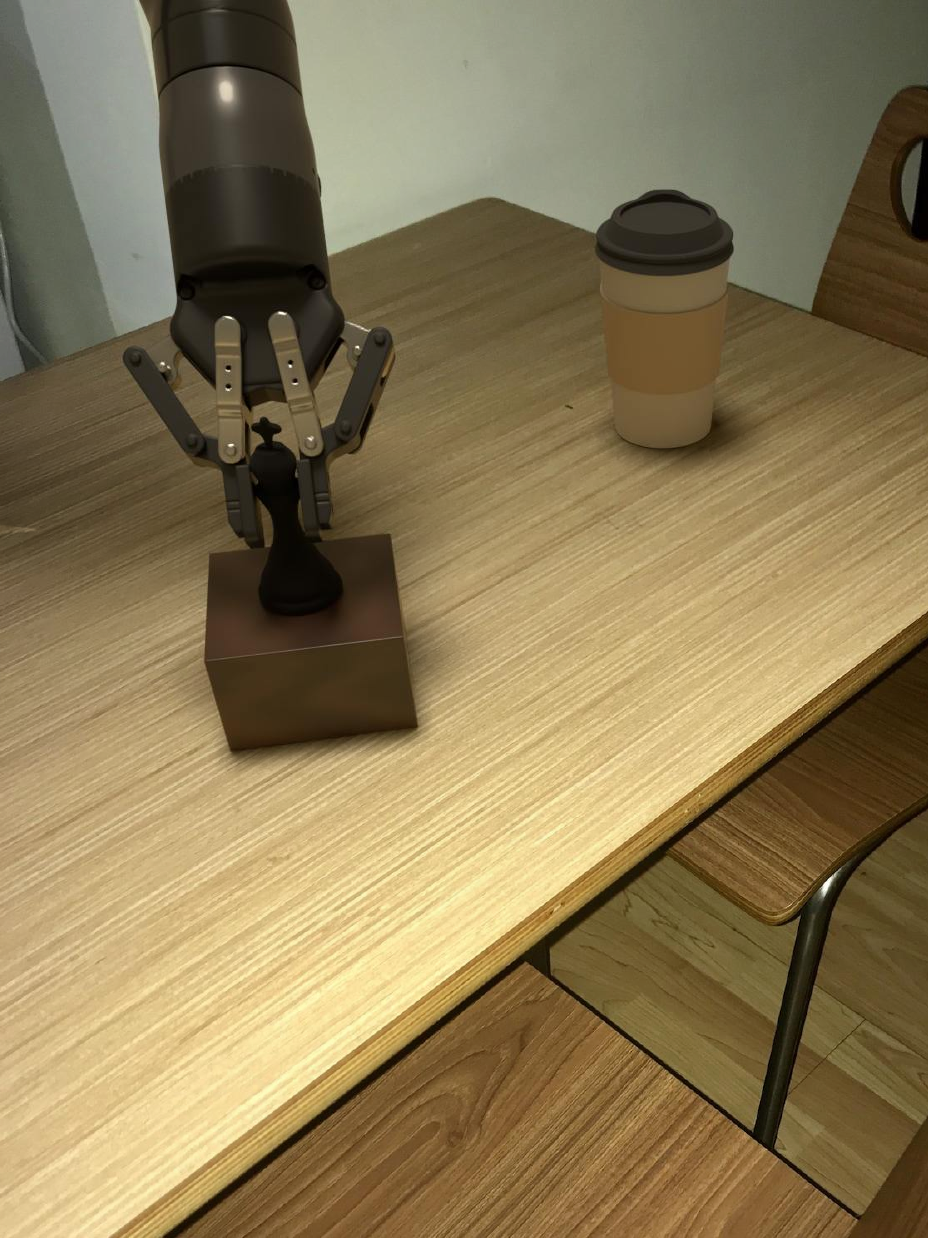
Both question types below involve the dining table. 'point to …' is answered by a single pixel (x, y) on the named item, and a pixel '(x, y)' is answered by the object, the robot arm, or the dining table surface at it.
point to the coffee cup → (664, 314)
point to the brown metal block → (309, 650)
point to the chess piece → (288, 534)
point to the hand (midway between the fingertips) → (285, 540)
